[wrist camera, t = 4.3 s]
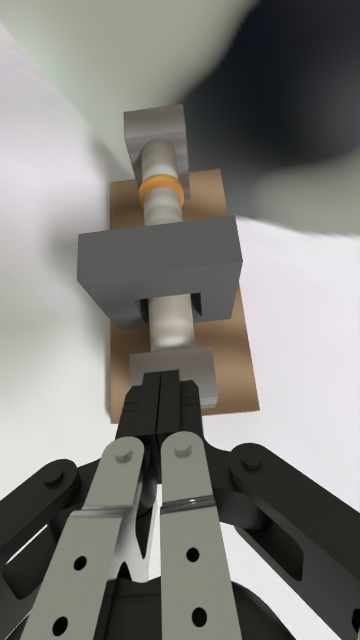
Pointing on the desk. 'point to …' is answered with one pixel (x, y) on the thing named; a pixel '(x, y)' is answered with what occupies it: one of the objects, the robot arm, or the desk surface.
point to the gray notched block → (162, 268)
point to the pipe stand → (175, 311)
